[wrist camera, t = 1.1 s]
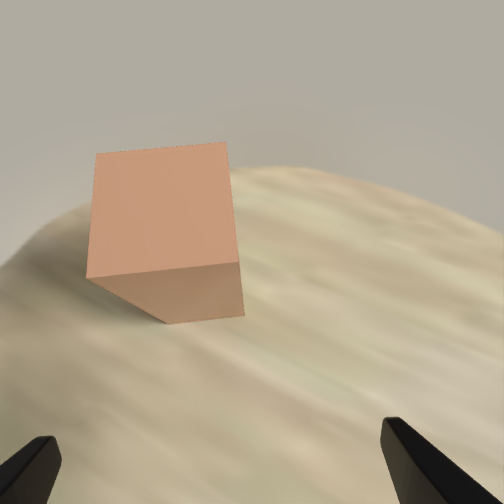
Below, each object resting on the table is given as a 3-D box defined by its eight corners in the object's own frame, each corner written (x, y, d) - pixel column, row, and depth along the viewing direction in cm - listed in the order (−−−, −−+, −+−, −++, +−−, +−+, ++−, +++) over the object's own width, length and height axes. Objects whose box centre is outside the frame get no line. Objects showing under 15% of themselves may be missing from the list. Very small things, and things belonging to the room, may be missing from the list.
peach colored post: (244, 315, 23) (238, 261, 11) (168, 324, 22) (85, 278, 11) (237, 245, 25) (226, 142, 13) (167, 253, 24) (96, 153, 13)
